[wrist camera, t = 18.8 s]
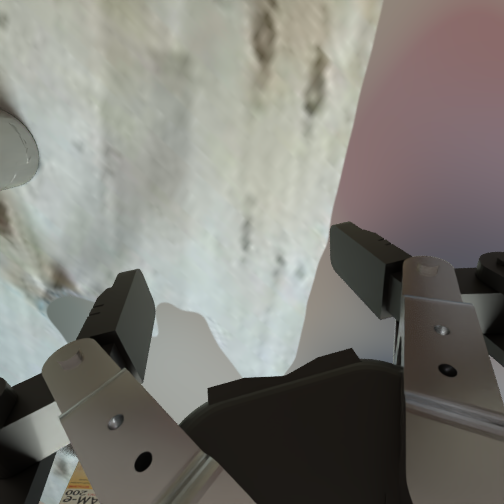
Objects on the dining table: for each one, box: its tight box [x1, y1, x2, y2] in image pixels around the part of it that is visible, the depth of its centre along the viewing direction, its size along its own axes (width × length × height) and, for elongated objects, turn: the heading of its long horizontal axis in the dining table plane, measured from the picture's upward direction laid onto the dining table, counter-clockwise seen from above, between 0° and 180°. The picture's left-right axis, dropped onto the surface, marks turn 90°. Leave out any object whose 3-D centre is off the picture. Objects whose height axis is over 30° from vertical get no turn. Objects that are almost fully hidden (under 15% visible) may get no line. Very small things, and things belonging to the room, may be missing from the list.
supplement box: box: [59, 462, 100, 504], centre depth 51 cm, size 8×5×13 cm, turn 76°
